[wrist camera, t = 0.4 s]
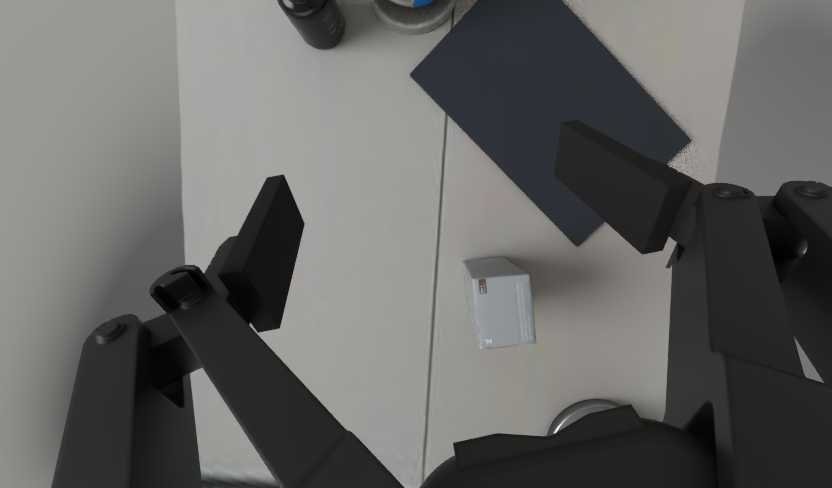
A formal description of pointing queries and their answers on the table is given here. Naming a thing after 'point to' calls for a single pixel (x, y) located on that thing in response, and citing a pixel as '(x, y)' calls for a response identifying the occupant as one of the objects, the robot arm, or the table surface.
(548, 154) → the mat
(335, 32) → the supplement bottle
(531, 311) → the cosmetic box
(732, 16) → the table surface
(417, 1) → the webcam
